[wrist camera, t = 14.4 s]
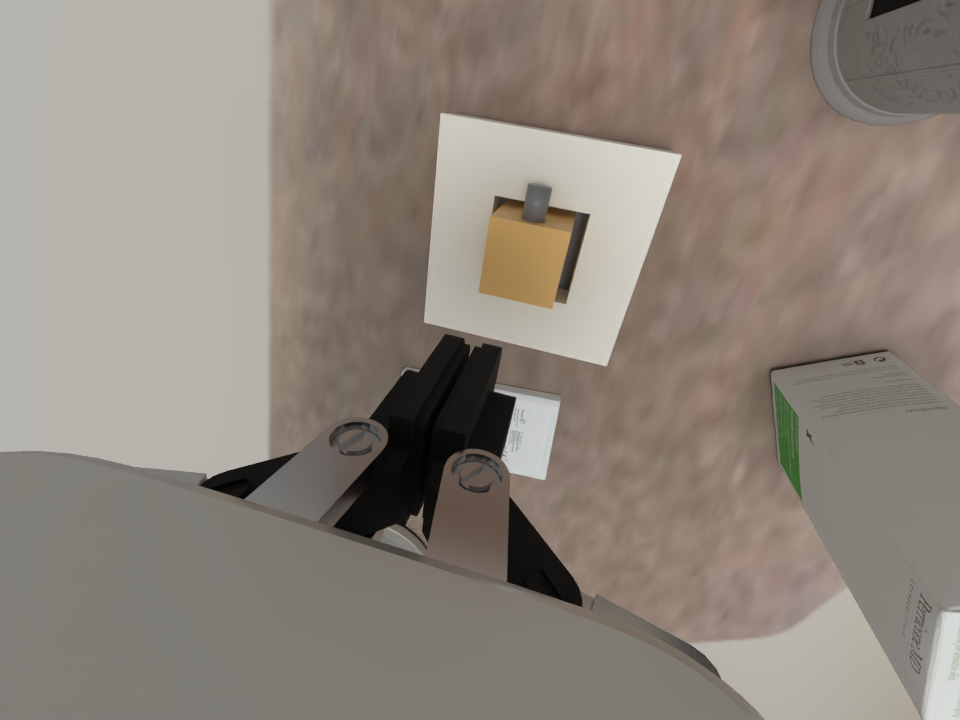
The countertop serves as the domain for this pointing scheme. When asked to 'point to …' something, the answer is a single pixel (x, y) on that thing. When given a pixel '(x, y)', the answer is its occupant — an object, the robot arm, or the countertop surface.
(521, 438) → the external hard drive
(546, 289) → the plug
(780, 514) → the countertop surface
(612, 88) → the countertop surface
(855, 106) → the glass holder
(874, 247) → the countertop surface
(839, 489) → the skincare box
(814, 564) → the countertop surface
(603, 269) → the socket
